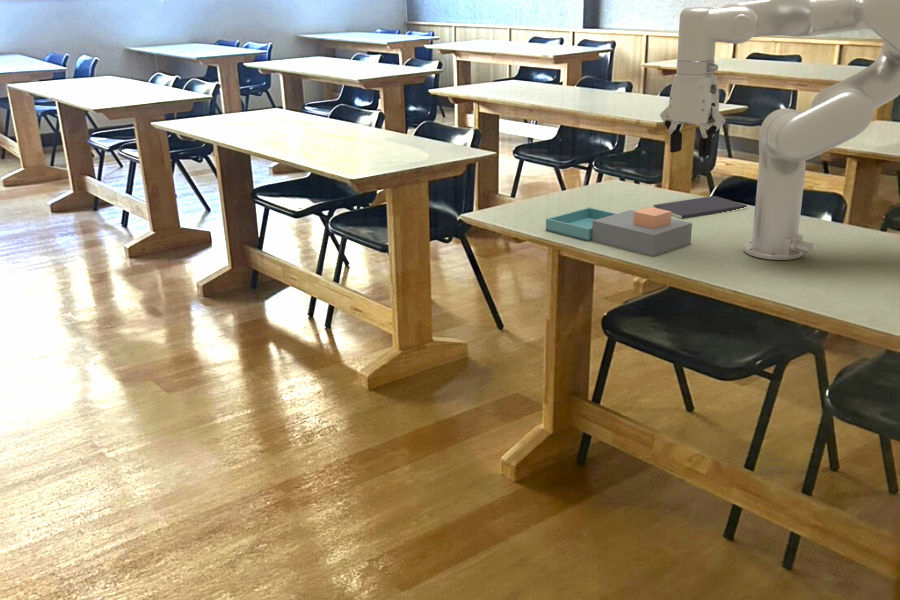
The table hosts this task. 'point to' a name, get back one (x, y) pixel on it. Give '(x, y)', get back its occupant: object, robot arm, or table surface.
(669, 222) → the terracotta block
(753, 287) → the table surface
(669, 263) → the table surface
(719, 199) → the notebook
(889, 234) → the table surface
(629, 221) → the slate bench plate
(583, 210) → the tray
